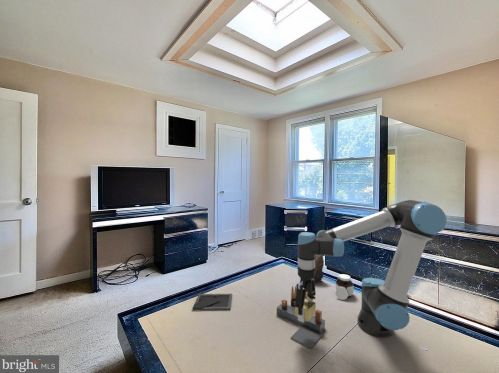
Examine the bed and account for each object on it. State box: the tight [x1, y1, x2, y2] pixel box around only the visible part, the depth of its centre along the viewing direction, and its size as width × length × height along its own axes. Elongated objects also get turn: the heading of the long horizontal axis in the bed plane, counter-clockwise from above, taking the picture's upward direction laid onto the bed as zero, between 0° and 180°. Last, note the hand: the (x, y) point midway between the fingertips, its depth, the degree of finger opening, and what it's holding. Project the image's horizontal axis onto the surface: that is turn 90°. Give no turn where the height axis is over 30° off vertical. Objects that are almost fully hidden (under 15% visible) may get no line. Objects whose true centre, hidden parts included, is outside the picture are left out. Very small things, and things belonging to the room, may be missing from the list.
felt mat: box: [290, 326, 322, 350], centre depth 103 cm, size 10×10×1 cm
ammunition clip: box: [290, 285, 309, 308], centre depth 128 cm, size 11×2×12 cm, turn 89°
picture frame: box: [192, 293, 233, 311], centre depth 133 cm, size 16×2×21 cm
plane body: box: [276, 299, 326, 335], centre depth 115 cm, size 24×6×9 cm, turn 49°
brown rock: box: [315, 255, 325, 285], centre depth 162 cm, size 13×13×20 cm
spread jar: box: [335, 273, 355, 301], centre depth 140 cm, size 12×11×12 cm
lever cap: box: [295, 299, 317, 322], centre depth 103 cm, size 6×8×6 cm
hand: (305, 316), depth 103 cm, fingers closed on lever cap, 8 cm apart
